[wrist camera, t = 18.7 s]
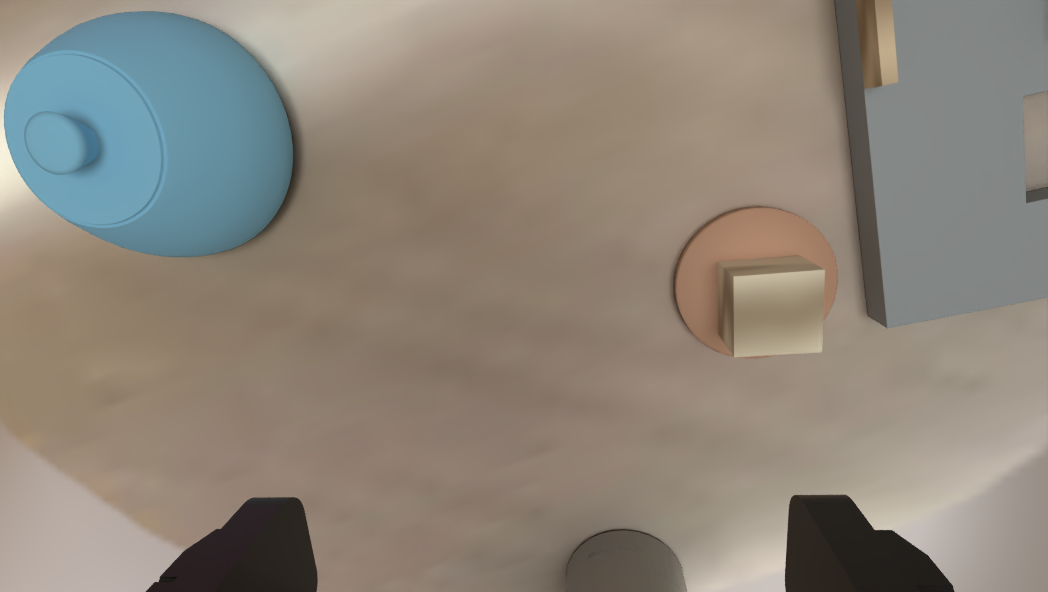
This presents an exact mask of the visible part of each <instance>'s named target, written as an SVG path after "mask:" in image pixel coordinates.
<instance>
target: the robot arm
mask: <svg viewBox="0 0 1048 592" xmlns="http://www.w3.org/2000/svg"><path fill="white" fill-rule="evenodd" d="M785 587H786V592H954V589H953V586H952V584H951V583H950V582H949V581H948V579H947V578H946V577H945V576H944V575H943V573H942V572H941V571H940V570H939V568H938V567H937V566H936V565H935V564H934V562H933V561H932V560H931V559H930V558H929V556H928V555H926V554H925V553H924V552H922V551H921V550H919V549H918V548H916V547H915V546H914V545H912V544H911V543H909V542H908V541H907V540H905V539H904V538H902V537H901V536H899V535H898V534H897V533H895V532H894V531H892V530H874V529H873V527H872V526H871V525H870V523H869V522H868V521H867V519H866V518H865V517H864V515H863V514H862V512H861V511H860V510H859V508H858V507H857V506H856V504H855V503H854V502H853V501H852V499H851V498H850V497H848V496H847V495H794V496H793V497H792V498H791V500H790V504H789V517H788V534H787V551H786V568H785ZM316 591H317V569H316V564H315V559H314V555H313V550H312V545H311V540H310V535H309V531H308V526H307V521H306V516H305V511H304V507H303V505H302V503H301V501H300V500H299V499H298V498H295V497H283V498H251V499H249V500H247V501H246V502H245V503H244V504H243V505H242V506H241V507H240V509H239V510H238V511H237V512H236V513H235V514H234V515H233V516H232V517H231V518H230V520H229V521H228V522H227V523H226V524H225V525H224V526H223V527H222V528H221V529H216V530H214V531H213V532H211V533H210V534H209V535H207V536H206V537H204V538H203V539H201V540H200V541H198V542H197V543H195V544H194V545H192V546H191V547H189V548H188V549H186V550H185V551H184V552H183V553H182V554H181V555H180V556H179V557H178V558H177V559H176V560H175V561H174V562H173V563H172V565H171V566H170V567H169V568H168V569H167V570H166V571H165V572H164V573H163V574H162V575H161V576H160V580H159V582H154V583H153V585H152V586H151V587H150V588H149V589H148V590H147V591H146V592H316ZM566 592H687V588H686V584H685V580H684V575H683V571H682V567H681V565H680V563H679V561H678V559H677V557H676V556H675V555H674V553H673V552H672V551H671V550H670V548H668V547H667V546H666V545H665V544H663V543H662V542H661V541H659V540H657V539H655V538H653V537H651V536H649V535H646V534H643V533H640V532H634V531H626V530H623V531H611V532H607V533H603V534H599V535H597V536H595V537H593V538H591V539H589V540H587V541H586V542H585V543H583V544H582V545H581V546H580V547H579V548H578V549H577V550H576V551H575V553H574V554H573V555H572V557H571V559H570V561H569V564H568V568H567V572H566Z"/></svg>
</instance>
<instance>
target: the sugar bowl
mask: <svg viewBox="0 0 1048 592" xmlns="http://www.w3.org/2000/svg"><path fill="white" fill-rule="evenodd" d="M4 128H5V135H6V140H7V144H8V148H9V151H10V154H11V156H12V159H13V162H14V164H15V166H16V168H17V170H18V172H19V173H20V175H21V177H22V178H23V180H24V181H25V183H26V184H27V186H28V187H29V188H30V189H31V191H32V192H33V193H34V194H35V195H36V196H37V197H38V198H39V199H40V200H41V201H42V202H43V203H44V204H45V205H46V206H47V207H49V208H50V209H51V210H53V211H54V212H55V213H57V214H58V215H60V216H61V217H62V218H64V219H65V220H67V221H68V222H70V223H72V224H74V225H75V226H77V227H79V228H81V229H83V230H85V231H87V232H88V233H90V234H92V235H94V236H96V237H98V238H100V239H103V240H105V241H108V242H110V243H112V244H115V245H118V246H120V247H123V248H126V249H129V250H133V251H137V252H141V253H146V254H151V255H158V256H168V257H195V256H204V255H212V254H215V253H219V252H223V251H226V250H230V249H233V248H235V247H238V246H240V245H242V244H244V243H246V242H247V241H249V240H251V239H252V238H254V237H255V236H256V235H258V234H259V233H260V232H261V231H262V230H263V229H264V228H265V227H266V226H267V225H268V224H269V223H270V221H271V220H272V219H273V218H274V216H275V215H276V213H277V211H278V210H279V208H280V206H281V205H282V203H283V201H284V198H285V196H286V193H287V191H288V187H289V184H290V180H291V175H292V167H293V144H292V135H291V130H290V126H289V122H288V117H287V114H286V112H285V109H284V106H283V103H282V101H281V99H280V97H279V95H278V93H277V91H276V89H275V87H274V85H273V83H272V82H271V80H270V79H269V77H268V76H267V74H266V72H265V71H264V70H263V69H262V67H261V66H260V65H259V64H258V63H257V61H256V60H255V59H254V58H253V57H252V56H251V55H250V54H249V53H248V52H247V51H246V50H245V49H244V48H243V47H242V46H241V45H240V44H239V43H238V42H236V41H235V40H234V39H232V38H231V37H230V36H228V35H227V34H225V33H224V32H222V31H220V30H219V29H217V28H215V27H213V26H211V25H209V24H207V23H204V22H202V21H199V20H197V19H193V18H189V17H186V16H182V15H177V14H173V13H165V12H156V11H141V12H124V13H117V14H112V15H106V16H102V17H99V18H96V19H93V20H90V21H87V22H84V23H82V24H79V25H77V26H75V27H73V28H72V29H70V30H68V31H67V32H65V33H63V34H61V35H60V36H58V37H56V38H55V39H54V40H52V41H51V42H50V43H49V44H47V45H46V46H45V47H44V48H43V49H41V50H40V51H39V52H38V53H37V54H35V55H34V56H33V57H32V58H31V59H30V60H29V61H28V62H27V63H26V64H25V66H24V67H23V68H22V69H21V71H20V72H19V73H18V74H17V76H16V78H15V79H14V81H13V83H12V84H11V87H10V89H9V92H8V94H7V98H6V102H5V110H4Z"/></svg>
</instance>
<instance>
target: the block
mask: <svg viewBox="0 0 1048 592" xmlns="http://www.w3.org/2000/svg"><path fill="white" fill-rule="evenodd" d="M717 267H718V335H719V336H720V338H721V339H722V341H723V342H724V344H725V345H726V346H727V348H728V349H729V351H730V352H731V354H732V355H733V357H750V356H766V355H783V354H800V353H816V352H822V337H823V310H824V283H825V269H823V268H821V267H819V266H818V265H816V264H814V263H812V262H810V261H809V260H807V259H805V258H803V257H801V256H800V255H794V256H781V257H768V258H756V259H743V260H731V261H718V262H717Z"/></svg>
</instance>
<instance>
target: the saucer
mask: <svg viewBox="0 0 1048 592" xmlns="http://www.w3.org/2000/svg"><path fill="white" fill-rule="evenodd" d="M794 255H800V256H801V257H803V258H805V259H807V260H809V261H810V262H812V263H814V264H816V265H818V266H819V267H821V268H823V269H825V283H824V310H823V321H824V319H825V318H826V316H827V315H828V313H829V311H830V309H831V307H832V304H833V302H834V299H835V295H836V291H837V283H838V272H837V265H836V260H835V257H834V254H833V251H832V249H831V247H830V245H829V243H828V242H827V240H826V239H825V238H824V236H823V235H822V234H821V233H820V232H819V231H818V230H817V229H816V228H815V227H814V226H813V225H812V224H810V223H809V222H808V221H806V220H804V219H802V218H801V217H799V216H797V215H794V214H791V213H789V212H786V211H783V210H781V209H776V208H771V207H761V206H758V207H746V208H740V209H736V210H733V211H729V212H727V213H725V214H722V215H720V216H718V217H716V218H715V219H713V220H711V221H710V222H708V223H707V224H706V225H704V226H703V227H702V228H701V229H700V230H699V231H698V232H697V233H696V234H695V235H694V236H693V237H692V238H691V240H690V241H689V242H688V243H687V245H686V247H685V248H684V250H683V252H682V254H681V256H680V258H679V261H678V264H677V267H676V272H675V278H674V291H675V299H676V302H677V306H678V309H679V311H680V313H681V315H682V317H683V319H684V321H685V322H686V324H687V326H688V327H689V329H690V330H691V331H692V333H693V334H694V335H695V336H696V337H697V338H698V339H699V340H700V341H701V342H703V343H704V344H705V345H707V346H708V347H710V348H712V349H714V350H716V351H717V352H720V353H723V354H725V355H729V356H733V355H732V354H731V352H730V351H729V349H728V348H727V346H726V345H725V344H724V342H723V341H722V339H721V338H720V336H719V335H718V267H717V262H718V261H731V260H743V259H756V258H768V257H781V256H794ZM769 356H773V355H766V356H750V357H738V358H763V357H769Z"/></svg>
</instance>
